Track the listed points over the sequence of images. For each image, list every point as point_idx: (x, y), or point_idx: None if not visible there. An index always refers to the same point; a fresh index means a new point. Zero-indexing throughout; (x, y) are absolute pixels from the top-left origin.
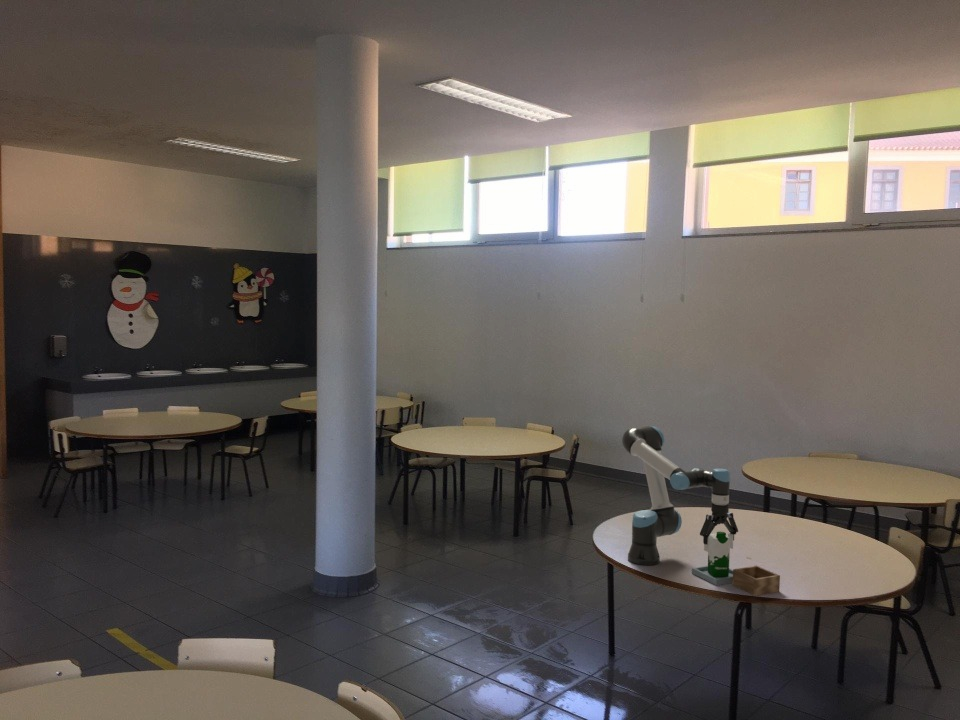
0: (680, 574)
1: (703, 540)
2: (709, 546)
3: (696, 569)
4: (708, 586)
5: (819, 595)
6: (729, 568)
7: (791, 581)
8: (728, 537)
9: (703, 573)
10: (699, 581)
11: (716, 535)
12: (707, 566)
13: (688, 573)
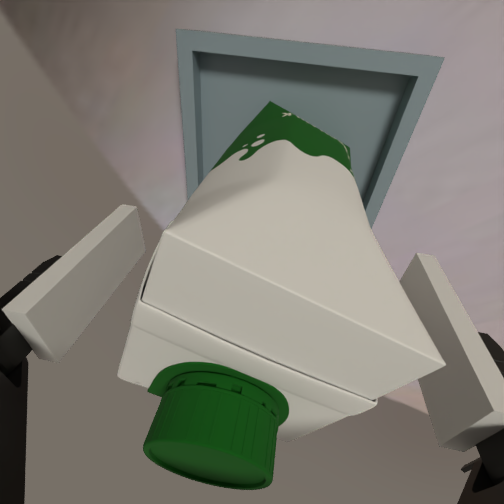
0: (107, 6)
1: (23, 282)
2: (119, 283)
3: (187, 74)
4: (162, 216)
5: (415, 398)
6: (394, 171)
7: (500, 337)
8: (299, 430)
9: (185, 153)
10: (158, 158)
11: (171, 390)
12: (305, 62)
13: (168, 17)
